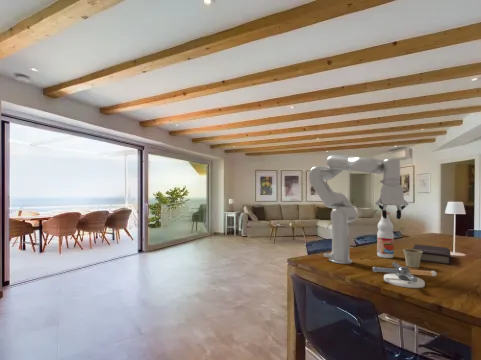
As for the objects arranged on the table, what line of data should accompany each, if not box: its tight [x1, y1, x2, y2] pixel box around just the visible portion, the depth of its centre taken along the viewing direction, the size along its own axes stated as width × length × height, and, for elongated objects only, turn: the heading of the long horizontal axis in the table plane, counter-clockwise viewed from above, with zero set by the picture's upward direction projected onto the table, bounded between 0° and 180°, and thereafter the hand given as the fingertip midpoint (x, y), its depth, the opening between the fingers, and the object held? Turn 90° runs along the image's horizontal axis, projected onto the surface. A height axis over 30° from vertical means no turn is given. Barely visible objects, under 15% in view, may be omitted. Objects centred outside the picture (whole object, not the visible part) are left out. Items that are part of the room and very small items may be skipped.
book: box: [412, 243, 452, 266], centre depth 178 cm, size 28×20×6 cm
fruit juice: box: [376, 211, 395, 259], centre depth 180 cm, size 9×9×28 cm
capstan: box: [371, 261, 437, 282], centre depth 128 cm, size 26×26×5 cm
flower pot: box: [402, 248, 423, 269], centre depth 156 cm, size 9×9×9 cm
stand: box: [383, 273, 426, 289], centre depth 128 cm, size 16×16×2 cm
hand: (391, 218), depth 143 cm, fingers open, 5 cm apart
